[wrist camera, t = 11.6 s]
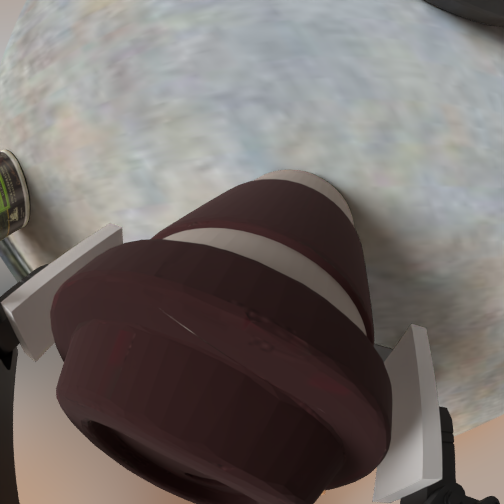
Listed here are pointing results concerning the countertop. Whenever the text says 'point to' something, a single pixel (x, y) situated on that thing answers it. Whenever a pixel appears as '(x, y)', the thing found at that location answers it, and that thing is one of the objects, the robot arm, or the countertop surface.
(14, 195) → the coffee can
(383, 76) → the countertop surface
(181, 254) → the coffee cup
